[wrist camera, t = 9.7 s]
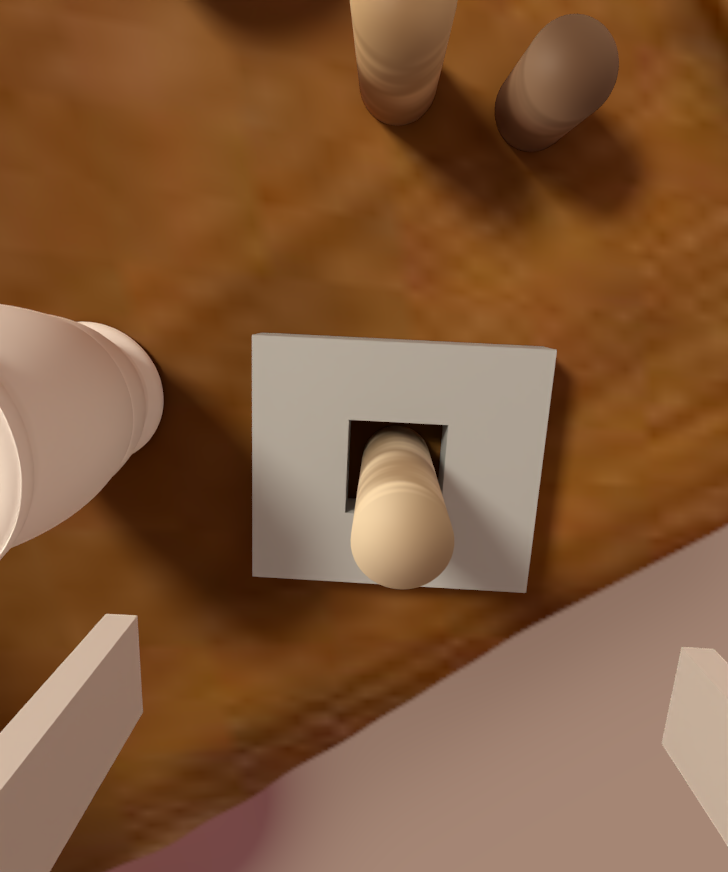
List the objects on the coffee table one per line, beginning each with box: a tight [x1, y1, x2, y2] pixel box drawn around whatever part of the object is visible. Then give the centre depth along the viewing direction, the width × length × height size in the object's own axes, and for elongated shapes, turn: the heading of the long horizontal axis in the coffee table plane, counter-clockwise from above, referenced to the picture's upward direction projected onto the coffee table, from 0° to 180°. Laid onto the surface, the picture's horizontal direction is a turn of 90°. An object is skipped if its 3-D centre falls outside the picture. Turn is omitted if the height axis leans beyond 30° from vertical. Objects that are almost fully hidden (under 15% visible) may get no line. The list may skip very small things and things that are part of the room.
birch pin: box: [351, 425, 454, 589], centre depth 27 cm, size 4×4×12 cm
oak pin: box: [350, 0, 457, 126], centre depth 24 cm, size 4×4×8 cm
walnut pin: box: [495, 14, 619, 152], centre depth 26 cm, size 4×4×5 cm
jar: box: [0, 304, 164, 559], centre depth 25 cm, size 11×10×15 cm
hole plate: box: [252, 333, 557, 593], centre depth 31 cm, size 16×14×2 cm
